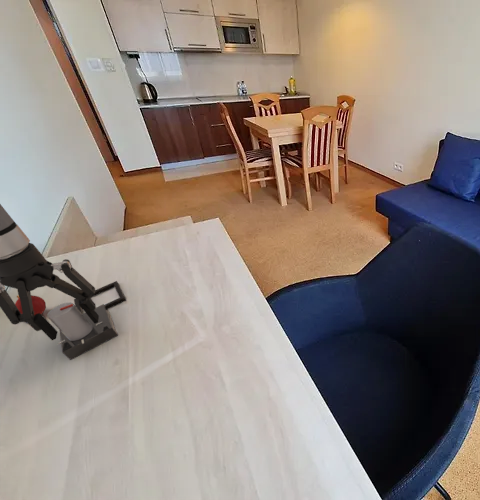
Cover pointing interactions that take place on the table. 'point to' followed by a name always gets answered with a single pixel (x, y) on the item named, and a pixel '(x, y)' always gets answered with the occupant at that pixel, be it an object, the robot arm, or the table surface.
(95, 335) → the panel
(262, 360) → the table surface
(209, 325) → the table surface
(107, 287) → the frame
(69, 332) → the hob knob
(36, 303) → the onion
